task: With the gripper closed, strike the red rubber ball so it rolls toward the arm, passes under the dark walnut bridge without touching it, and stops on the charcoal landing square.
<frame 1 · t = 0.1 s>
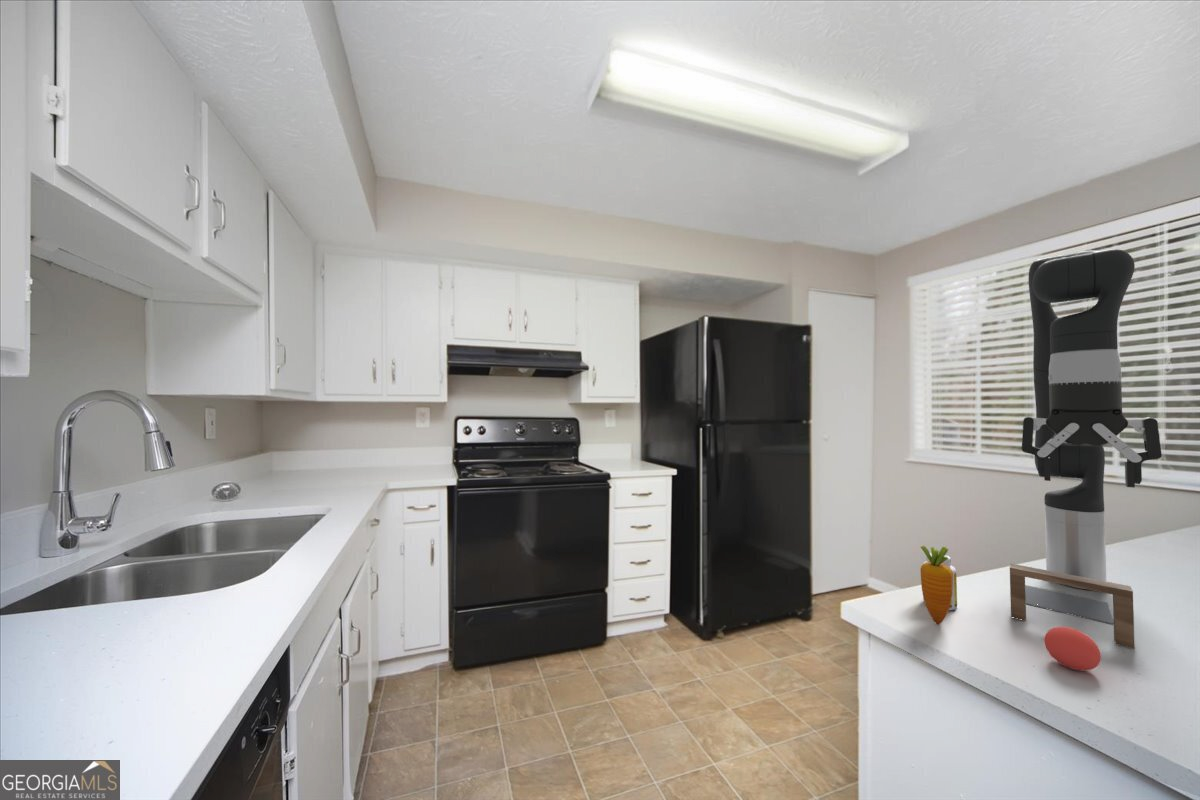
hand: (1086, 483, 66), 29 cm above the counter, tool pointing down, fingers open, 8 cm apart
supplement bottle: (939, 605, 88), on the counter
ball: (1071, 648, 67), on the counter
bridge: (1068, 629, 78), on the counter
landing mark: (1065, 603, 87), on the counter
carrot: (937, 625, 80), on the counter
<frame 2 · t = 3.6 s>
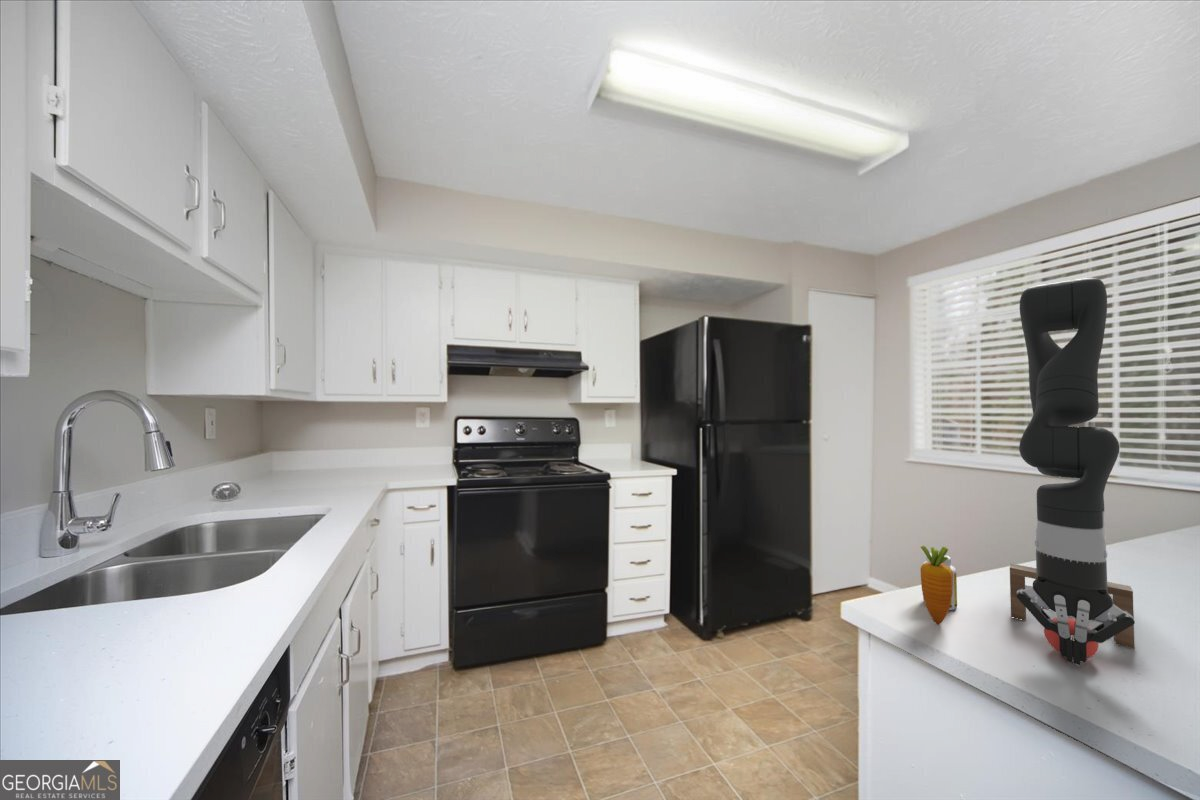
hand: (1072, 661, 67), 1 cm above the counter, tool pointing down, fingers closed
ball: (1070, 637, 70), on the counter, touching gripper
everything else where it was.
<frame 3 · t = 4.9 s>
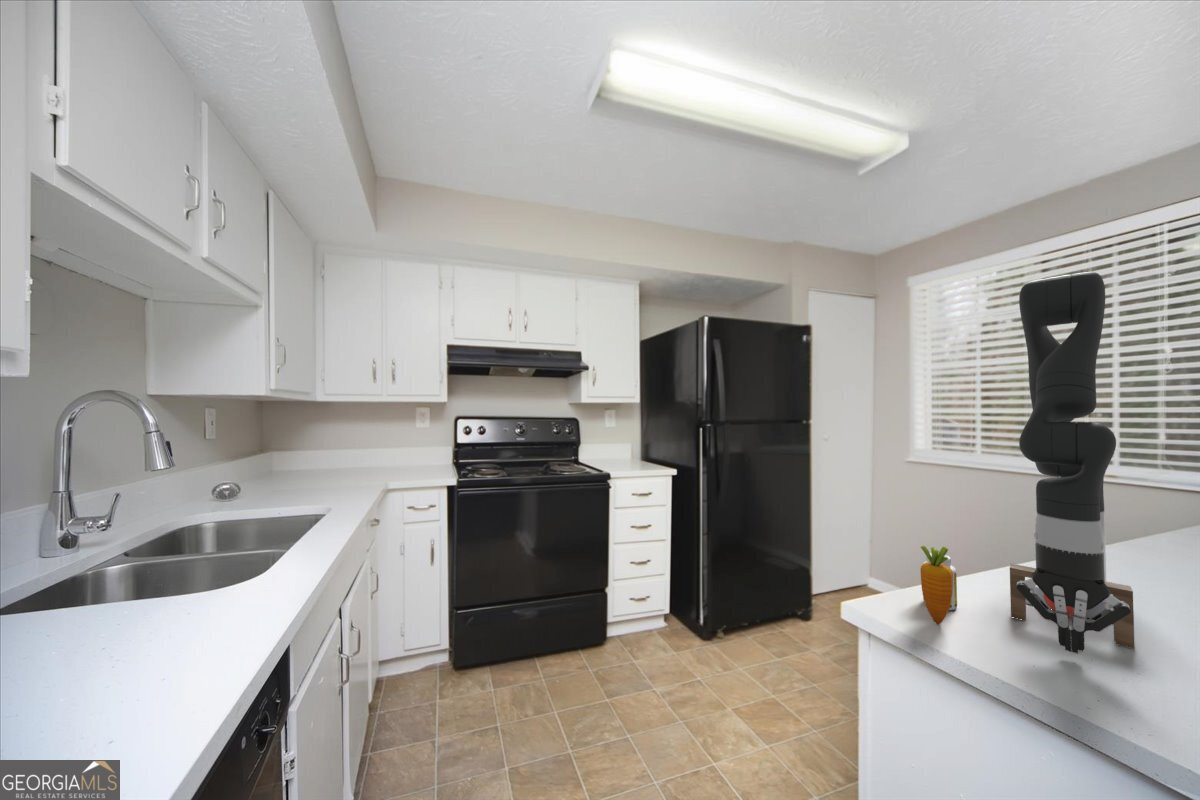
hand: (1071, 649, 69), 2 cm above the counter, tool pointing down, fingers closed
ball: (1065, 599, 83), on the counter
everything else where it was.
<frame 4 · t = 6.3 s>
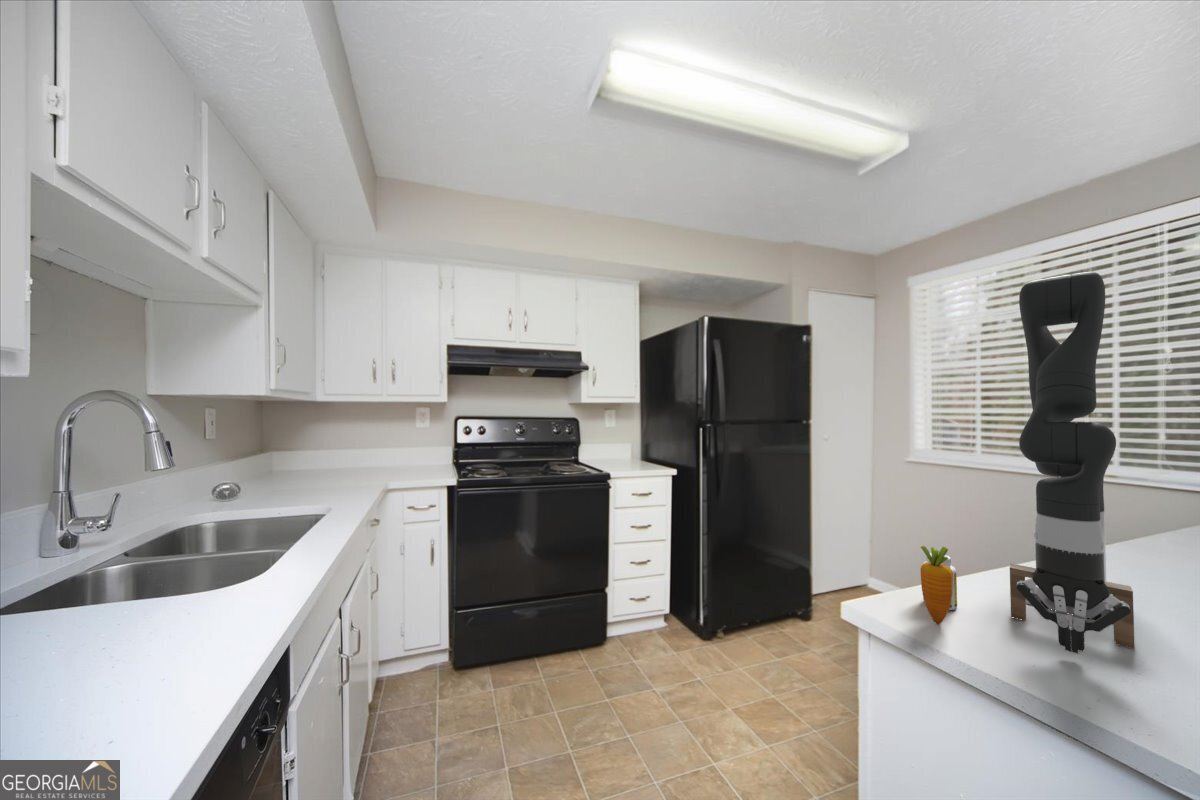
hand: (1071, 649, 69), 2 cm above the counter, tool pointing down, fingers closed
ball: (1063, 587, 88), on the counter
everything else where it was.
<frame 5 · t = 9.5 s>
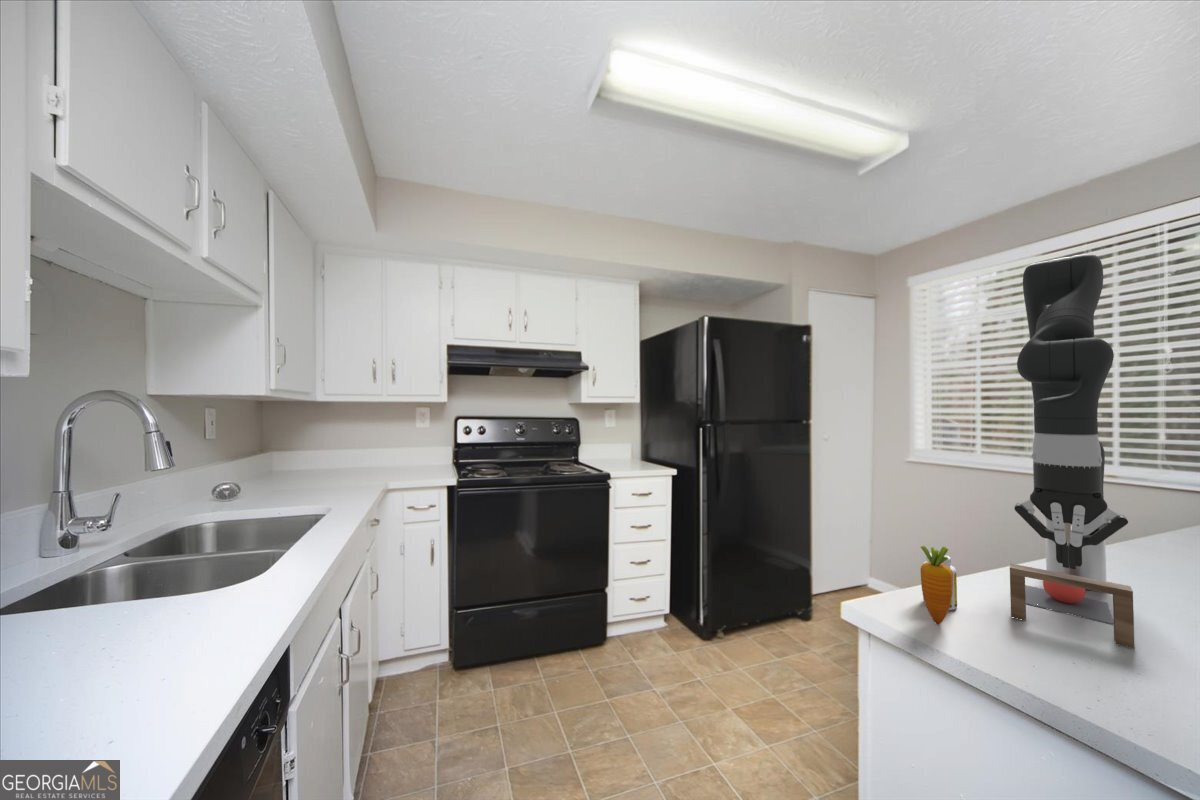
hand: (1068, 566, 69), 15 cm above the counter, tool pointing down, fingers closed
nothing on the counter moved.
at the end: ball 0.7 cm from the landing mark (horizontally); ball never touched bridge; ball at rest at the end (0.0 cm/s) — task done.
